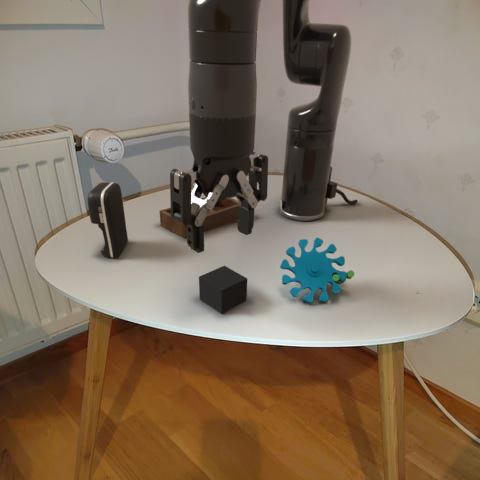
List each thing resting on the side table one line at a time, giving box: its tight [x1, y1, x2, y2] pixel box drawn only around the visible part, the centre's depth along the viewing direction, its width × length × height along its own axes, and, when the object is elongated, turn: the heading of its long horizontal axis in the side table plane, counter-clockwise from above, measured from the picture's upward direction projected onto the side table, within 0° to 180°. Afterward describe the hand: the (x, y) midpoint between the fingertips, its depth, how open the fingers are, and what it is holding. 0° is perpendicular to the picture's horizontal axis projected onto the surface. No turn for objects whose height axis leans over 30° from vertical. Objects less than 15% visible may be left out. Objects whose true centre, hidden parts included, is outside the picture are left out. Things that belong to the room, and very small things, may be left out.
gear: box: [279, 237, 355, 304], centre depth 64 cm, size 11×6×10 cm
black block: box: [198, 265, 248, 315], centre depth 61 cm, size 5×5×4 cm
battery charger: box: [86, 181, 129, 259], centre depth 71 cm, size 7×4×11 cm, turn 175°
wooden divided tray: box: [159, 196, 241, 240], centre depth 84 cm, size 8×15×3 cm, turn 133°
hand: (221, 241), depth 56 cm, fingers open, 8 cm apart
